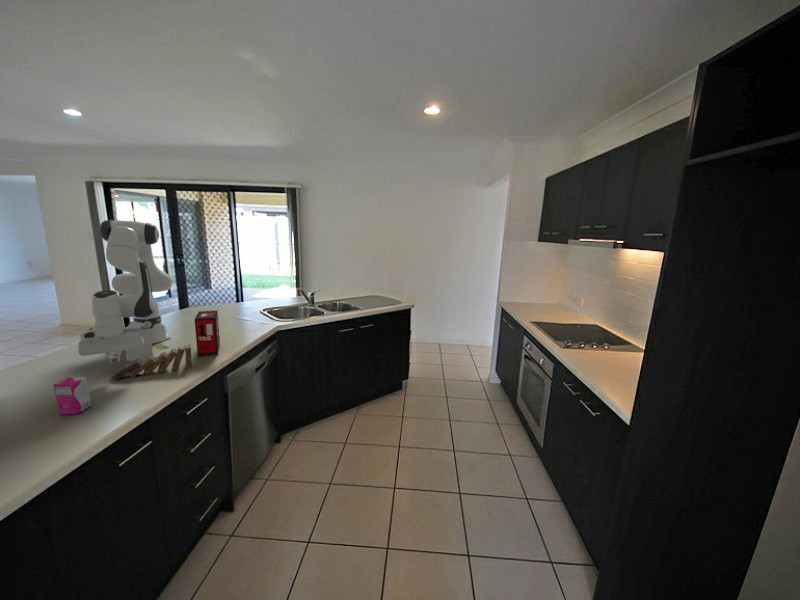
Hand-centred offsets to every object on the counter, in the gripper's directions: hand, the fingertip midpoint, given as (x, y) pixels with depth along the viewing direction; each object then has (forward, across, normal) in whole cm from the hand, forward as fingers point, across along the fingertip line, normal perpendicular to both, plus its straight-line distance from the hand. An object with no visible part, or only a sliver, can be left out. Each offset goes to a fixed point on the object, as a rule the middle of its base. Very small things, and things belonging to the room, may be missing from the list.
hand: (115, 361), depth 133 cm
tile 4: (+7, -15, 0) cm, 16 cm away
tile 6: (+8, -26, 0) cm, 27 cm away
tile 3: (+7, -10, 0) cm, 12 cm away
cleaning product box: (+8, -35, -19) cm, 41 cm away
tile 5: (+7, -20, 0) cm, 21 cm away
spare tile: (+7, +1, 0) cm, 7 cm away
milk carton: (+8, -6, -20) cm, 22 cm away
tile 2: (+7, -4, 0) cm, 8 cm away
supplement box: (+8, +8, +25) cm, 27 cm away
